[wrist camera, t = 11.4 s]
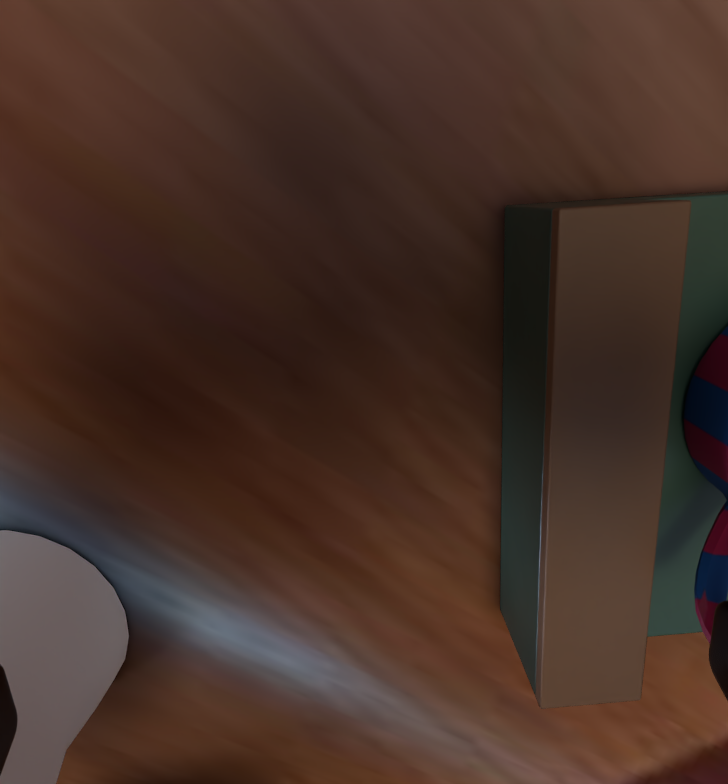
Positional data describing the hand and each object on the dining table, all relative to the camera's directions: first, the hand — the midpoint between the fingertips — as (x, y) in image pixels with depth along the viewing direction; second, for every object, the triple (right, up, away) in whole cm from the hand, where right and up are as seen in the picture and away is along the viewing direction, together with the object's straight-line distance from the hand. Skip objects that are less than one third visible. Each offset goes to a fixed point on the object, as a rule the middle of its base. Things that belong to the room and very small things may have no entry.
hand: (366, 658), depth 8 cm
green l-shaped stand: (+10, +3, +12) cm, 16 cm away
